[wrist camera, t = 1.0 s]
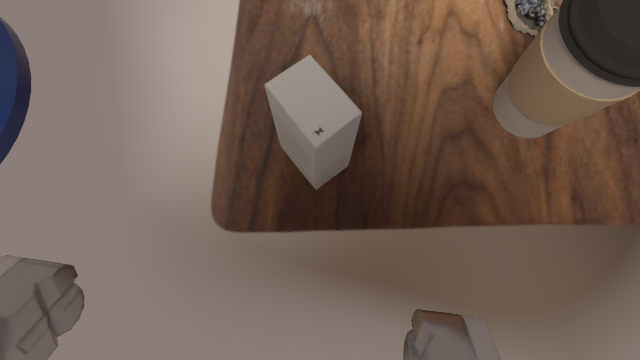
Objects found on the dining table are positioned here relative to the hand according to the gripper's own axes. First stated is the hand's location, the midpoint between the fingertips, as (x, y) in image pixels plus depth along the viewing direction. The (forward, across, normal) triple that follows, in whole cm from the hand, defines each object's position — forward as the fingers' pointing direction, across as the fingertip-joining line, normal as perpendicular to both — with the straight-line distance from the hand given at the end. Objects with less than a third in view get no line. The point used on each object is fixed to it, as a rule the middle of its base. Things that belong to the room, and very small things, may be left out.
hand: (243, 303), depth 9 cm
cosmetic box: (+27, 0, +9) cm, 28 cm away
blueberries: (+41, -22, -5) cm, 47 cm away
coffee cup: (+32, -21, +4) cm, 39 cm away
